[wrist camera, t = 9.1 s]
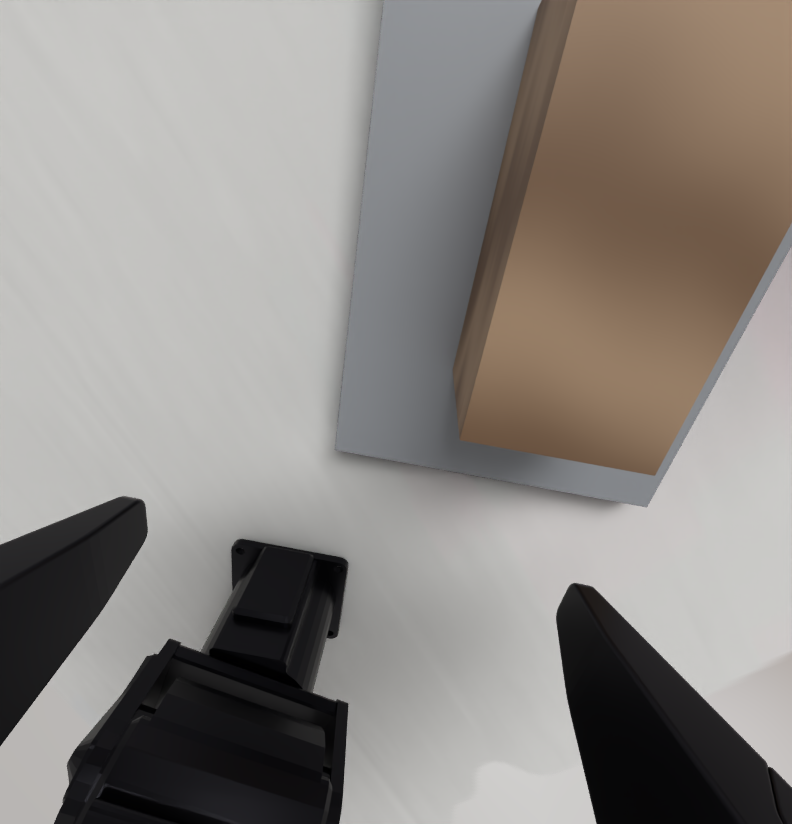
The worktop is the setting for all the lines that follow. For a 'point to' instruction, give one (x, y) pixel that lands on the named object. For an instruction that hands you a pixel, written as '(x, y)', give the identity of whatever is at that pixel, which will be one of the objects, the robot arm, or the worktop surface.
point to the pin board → (449, 246)
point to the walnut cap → (626, 224)
